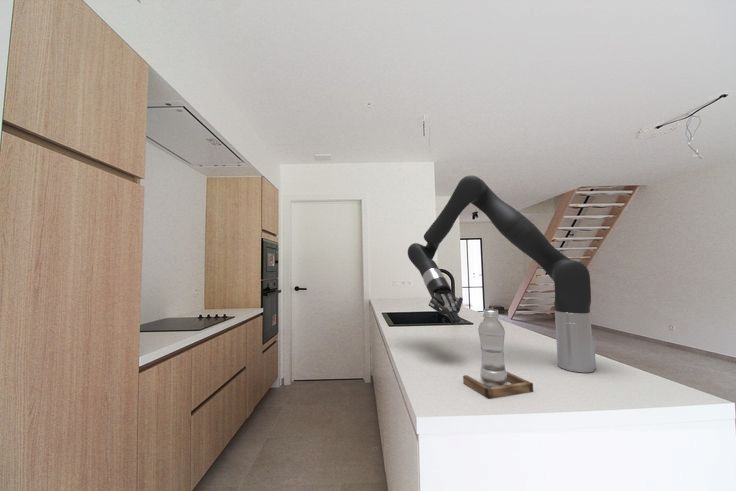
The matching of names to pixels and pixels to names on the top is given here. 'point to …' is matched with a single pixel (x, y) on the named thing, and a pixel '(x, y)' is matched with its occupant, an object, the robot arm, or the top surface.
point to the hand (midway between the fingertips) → (457, 323)
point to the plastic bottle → (492, 350)
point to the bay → (499, 391)
